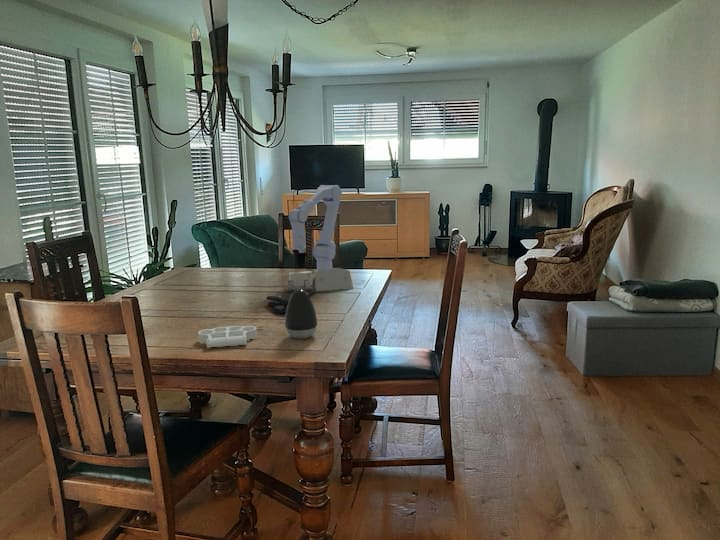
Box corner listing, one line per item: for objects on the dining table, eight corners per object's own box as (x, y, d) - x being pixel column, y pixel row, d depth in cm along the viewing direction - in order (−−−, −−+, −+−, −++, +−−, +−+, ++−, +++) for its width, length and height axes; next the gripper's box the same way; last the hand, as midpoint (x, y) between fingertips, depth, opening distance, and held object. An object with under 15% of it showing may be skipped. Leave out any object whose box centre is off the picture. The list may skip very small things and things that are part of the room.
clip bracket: (285, 289, 239) (285, 280, 238) (310, 287, 241) (310, 278, 241) (287, 292, 232) (286, 283, 231) (312, 290, 235) (312, 281, 234)
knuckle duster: (196, 352, 162) (200, 337, 176) (257, 346, 166) (256, 332, 180) (195, 341, 162) (199, 327, 176) (256, 336, 165) (256, 322, 179)
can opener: (296, 312, 201) (295, 298, 200) (279, 316, 198) (278, 301, 197) (277, 303, 216) (276, 289, 215) (260, 306, 212) (259, 292, 211)
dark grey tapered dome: (322, 338, 170) (320, 291, 167) (289, 343, 167) (287, 295, 164) (313, 329, 179) (311, 284, 177) (282, 333, 176) (280, 288, 173)
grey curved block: (315, 291, 233) (313, 268, 235) (314, 292, 238) (312, 270, 240) (353, 288, 236) (352, 266, 238) (352, 290, 241) (350, 267, 242)
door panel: (289, 285, 246) (289, 272, 245) (311, 284, 248) (311, 271, 247) (290, 287, 243) (289, 274, 242) (312, 285, 245) (312, 272, 244)
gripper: (288, 234, 248) (289, 264, 250) (291, 238, 234) (293, 270, 236) (303, 234, 249) (304, 263, 252) (307, 238, 235) (309, 268, 238)
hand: (300, 266), depth 244 cm, fingers open, 7 cm apart
